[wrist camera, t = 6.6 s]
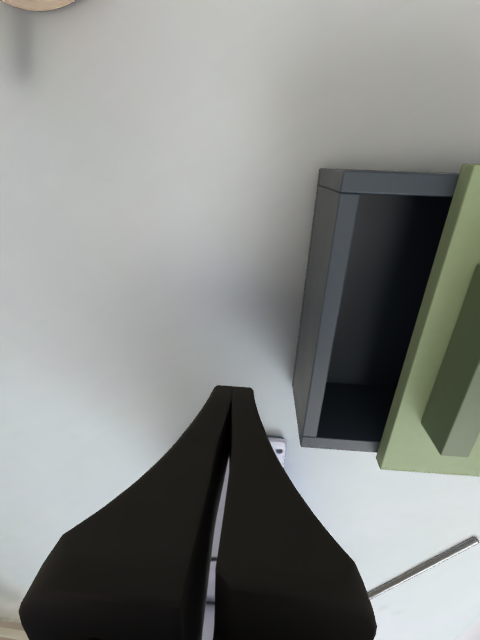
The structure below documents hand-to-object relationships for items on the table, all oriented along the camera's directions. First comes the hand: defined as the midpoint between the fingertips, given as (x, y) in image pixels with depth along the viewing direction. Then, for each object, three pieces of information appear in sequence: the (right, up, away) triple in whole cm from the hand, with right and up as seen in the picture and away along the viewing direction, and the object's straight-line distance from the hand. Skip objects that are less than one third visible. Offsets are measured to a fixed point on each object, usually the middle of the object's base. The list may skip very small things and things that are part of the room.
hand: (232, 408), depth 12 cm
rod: (+16, -23, +21) cm, 35 cm away
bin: (+10, +5, +8) cm, 14 cm away
